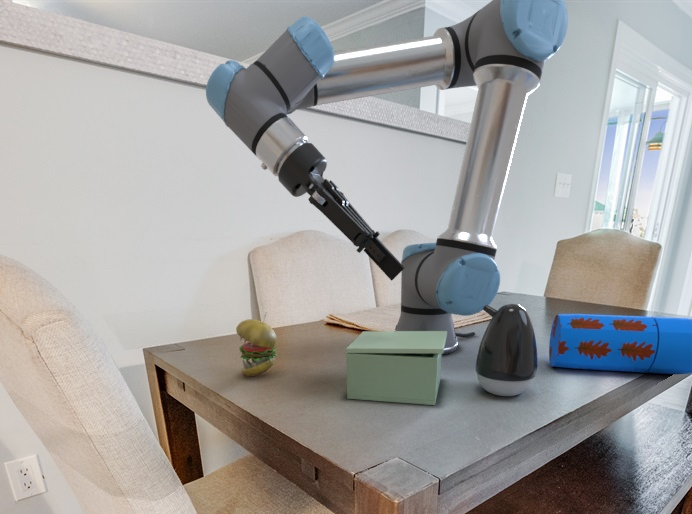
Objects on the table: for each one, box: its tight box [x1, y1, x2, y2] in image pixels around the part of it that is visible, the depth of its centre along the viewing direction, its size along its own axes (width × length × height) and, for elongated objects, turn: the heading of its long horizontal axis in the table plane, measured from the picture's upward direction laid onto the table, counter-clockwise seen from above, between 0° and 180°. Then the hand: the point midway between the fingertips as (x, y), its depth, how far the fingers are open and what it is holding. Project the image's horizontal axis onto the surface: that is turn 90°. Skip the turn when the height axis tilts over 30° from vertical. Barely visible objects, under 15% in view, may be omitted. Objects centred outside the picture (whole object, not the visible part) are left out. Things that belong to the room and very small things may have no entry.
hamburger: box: [235, 311, 278, 377], centre depth 86 cm, size 8×7×12 cm
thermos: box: [548, 313, 692, 375], centre depth 91 cm, size 11×11×25 cm
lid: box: [345, 330, 447, 355], centre depth 78 cm, size 15×13×1 cm
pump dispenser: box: [474, 303, 538, 397], centre depth 78 cm, size 10×10×15 cm
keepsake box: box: [345, 353, 443, 406], centre depth 80 cm, size 15×13×8 cm
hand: (398, 274), depth 74 cm, fingers closed
